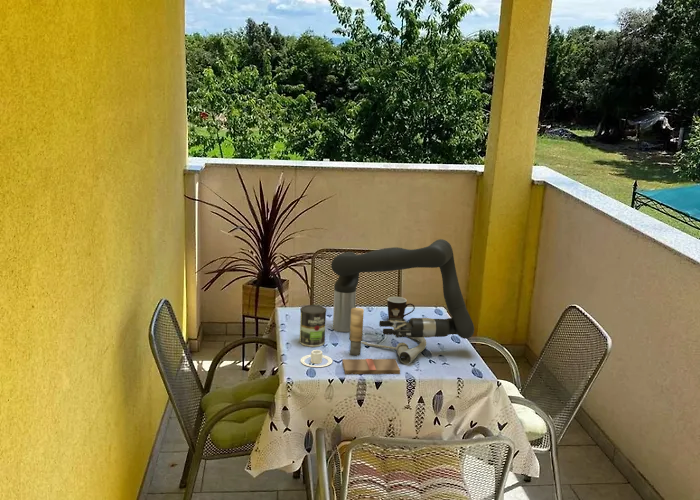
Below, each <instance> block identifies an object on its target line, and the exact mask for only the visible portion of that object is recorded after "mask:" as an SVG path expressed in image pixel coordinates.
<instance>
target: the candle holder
mask: <svg viewBox="0 0 700 500" xmlns="http://www.w3.org/2000/svg"><path fill="white" fill-rule="evenodd" d="M309 358H310V362H311V363H312V364H308V363H306V362H305V361H306V360H307V359H309ZM323 359H325V360H327V362H326V363H324V364H322V363H323ZM299 361H300V363H301V364H303V365H304V366H307V367H311V368H323V367H328V366H330V365H331V364H332V363H333V358H331V357H330V356H328V355H324V354H323V351H322V350H321V349H314V350H311V352H310V354H307V355H304V356H302V357H300V360H299ZM313 364H314V365H313ZM315 364H316V365H315ZM321 364H322V365H321Z"/></svg>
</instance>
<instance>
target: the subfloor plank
mask: <svg viewBox="0 0 700 500" xmlns="http://www.w3.org/2000/svg"><path fill="white" fill-rule="evenodd" d="M342 367H343V371H344V375H401V369H400V367H399V364H398V362H397V360H396V358H382V359H381V358H378V359H377V358H363V359H362V358H360V359H359V358H355V359H354V358H351V359H350V358H349V359H348V358H347V359H345V358H343V359H342Z"/></svg>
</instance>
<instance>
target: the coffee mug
mask: <svg viewBox="0 0 700 500" xmlns="http://www.w3.org/2000/svg"><path fill="white" fill-rule="evenodd" d="M386 300H387V315H388V317H387V318H388V320H387V321H389V320H390V318H394V319H405V317H406V316H408V315H410V314H411V313H413V312H414V311H415V309H416V306H415V305H414V304H413V303H407V302H408V301H407V299H406V298H405V297H402V296H390V297H388V298H387V299H386ZM408 306H412V307H413V309H412V310H411V311H410V312H409V311H408V312H407V313H406V309H407V307H408ZM405 313H406V314H405Z"/></svg>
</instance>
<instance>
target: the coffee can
mask: <svg viewBox="0 0 700 500" xmlns="http://www.w3.org/2000/svg"><path fill="white" fill-rule="evenodd" d="M299 309H300V321H299V322H300V324H299V325H300V326H299V329H300V330H299V344H301V346H305V347H310V348H315V347H322V346H323V345H324V344H325V343H326V342H325V341H326V339H325V338H326V321H327V320H326V319H327V318H326V317H327V308H326V307H324V306H322V305H315V304H310V305H309V304H308V305H303V306H301V307H300V308H299Z"/></svg>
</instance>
